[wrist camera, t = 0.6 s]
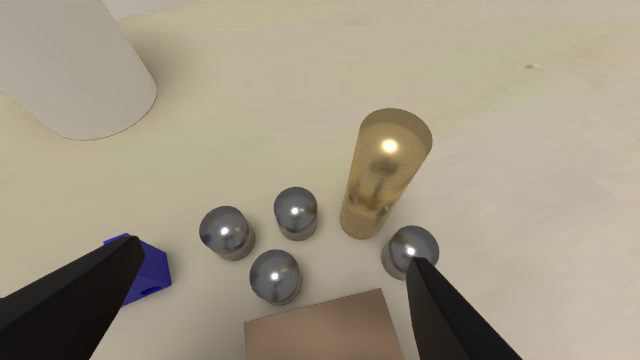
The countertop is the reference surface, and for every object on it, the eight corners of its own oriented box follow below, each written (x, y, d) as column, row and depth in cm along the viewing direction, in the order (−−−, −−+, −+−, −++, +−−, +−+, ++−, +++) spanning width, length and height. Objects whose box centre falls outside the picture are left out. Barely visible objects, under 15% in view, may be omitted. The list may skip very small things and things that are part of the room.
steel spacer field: (427, 274, 24) (447, 265, 20) (219, 327, 21) (200, 327, 18) (391, 186, 28) (402, 165, 24) (214, 222, 26) (199, 205, 22)
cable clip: (9, 376, 20) (-101, 393, 14) (15, 314, 22) (-81, 310, 16) (175, 302, 22) (132, 294, 17) (166, 253, 24) (126, 232, 19)
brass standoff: (386, 234, 25) (445, 158, 14) (346, 243, 25) (372, 172, 13) (373, 197, 27) (415, 103, 16) (335, 205, 27) (350, 114, 15)
